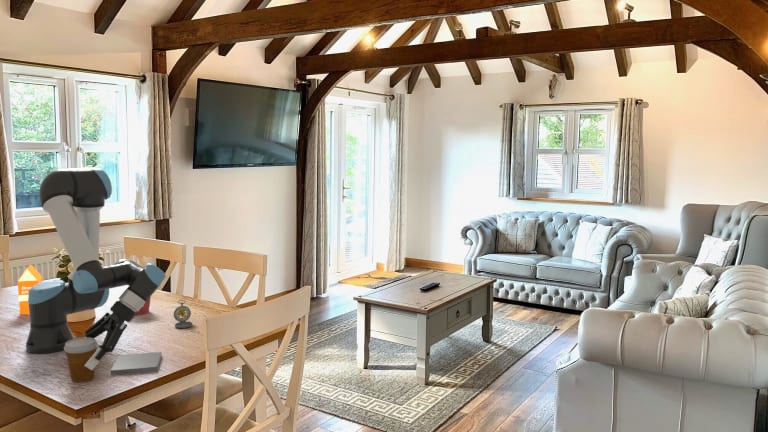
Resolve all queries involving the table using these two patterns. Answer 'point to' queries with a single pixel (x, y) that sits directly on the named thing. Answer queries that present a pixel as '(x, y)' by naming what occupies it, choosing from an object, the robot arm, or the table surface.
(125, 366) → the slate tile
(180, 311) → the pocket watch
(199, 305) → the table surface
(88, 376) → the disposable coffee cup
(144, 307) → the flower pot
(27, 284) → the orange juice
